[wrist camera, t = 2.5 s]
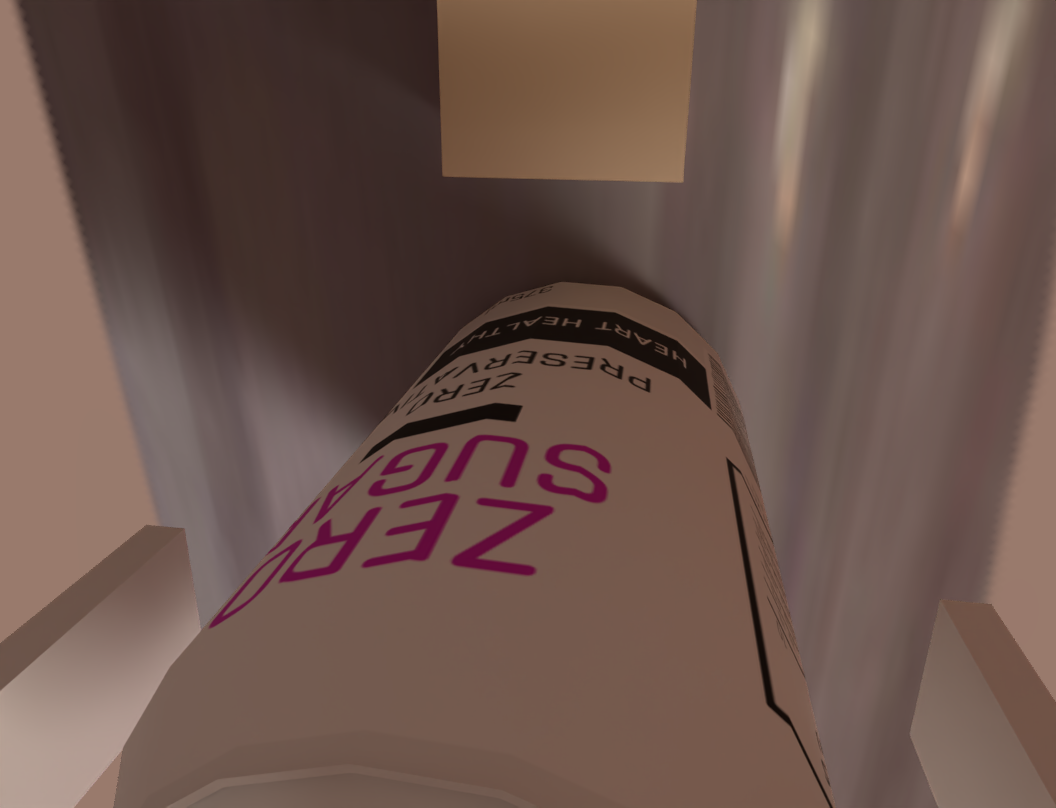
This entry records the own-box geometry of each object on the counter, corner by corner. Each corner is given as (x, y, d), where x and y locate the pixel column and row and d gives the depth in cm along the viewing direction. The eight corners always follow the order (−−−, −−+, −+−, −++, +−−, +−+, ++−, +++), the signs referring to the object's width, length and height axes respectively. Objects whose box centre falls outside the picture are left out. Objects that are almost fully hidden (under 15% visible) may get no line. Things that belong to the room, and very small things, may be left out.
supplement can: (584, 609, 23) (467, 1362, 9) (373, 420, 22) (-109, 963, 8) (807, 436, 20) (1110, 1169, 6) (577, 205, 19) (345, 504, 5)
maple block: (506, -40, 17) (433, -98, 12) (691, -43, 17) (704, -107, 11) (507, 151, 19) (442, 176, 13) (677, 154, 18) (683, 181, 13)
